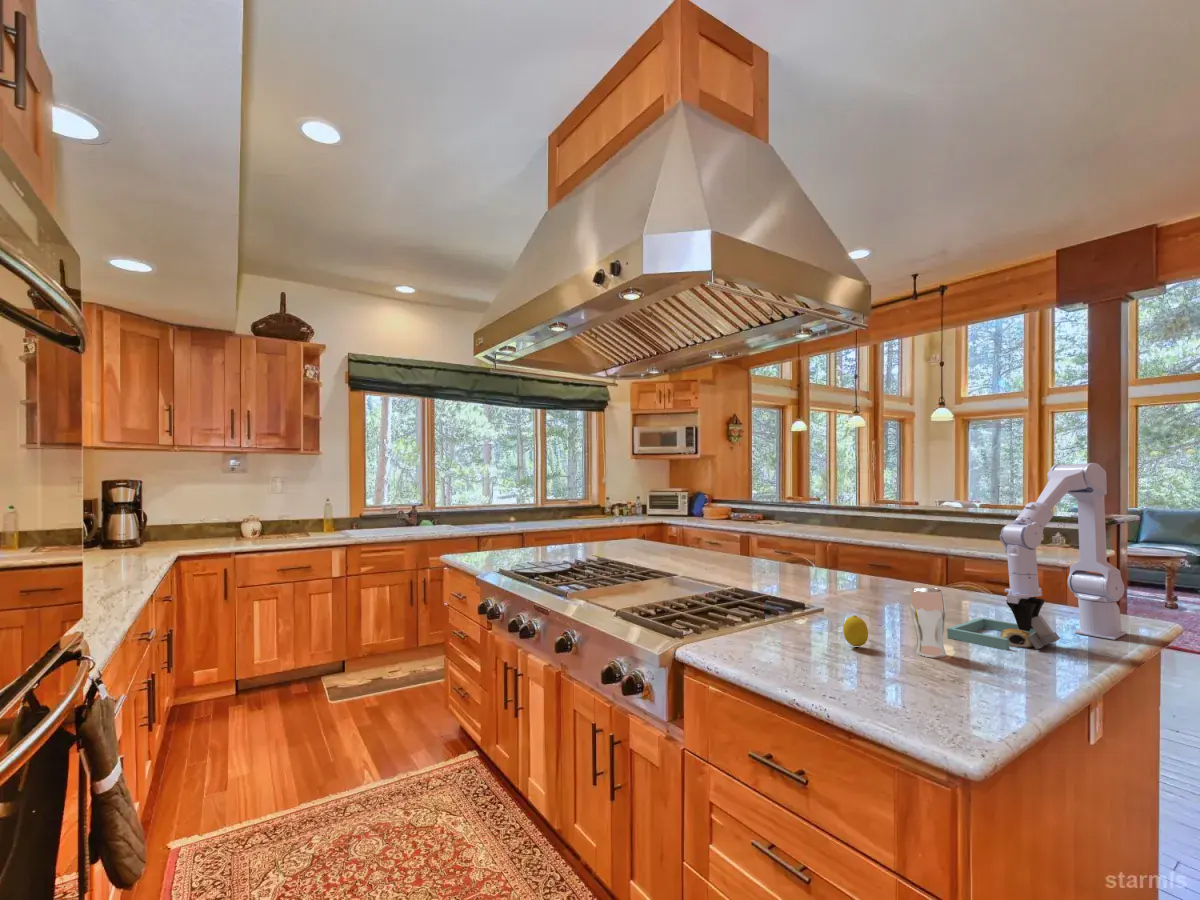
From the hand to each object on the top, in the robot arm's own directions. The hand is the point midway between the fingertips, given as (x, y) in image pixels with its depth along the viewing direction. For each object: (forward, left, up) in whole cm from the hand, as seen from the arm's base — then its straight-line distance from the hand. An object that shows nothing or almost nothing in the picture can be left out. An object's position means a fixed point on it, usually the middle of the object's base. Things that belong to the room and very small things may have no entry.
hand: (1027, 629), depth 134 cm
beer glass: (+26, -10, -4) cm, 28 cm away
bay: (0, -7, -4) cm, 8 cm away
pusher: (0, +4, -2) cm, 5 cm away
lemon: (+35, -23, -4) cm, 42 cm away
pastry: (+1, -2, -4) cm, 5 cm away
